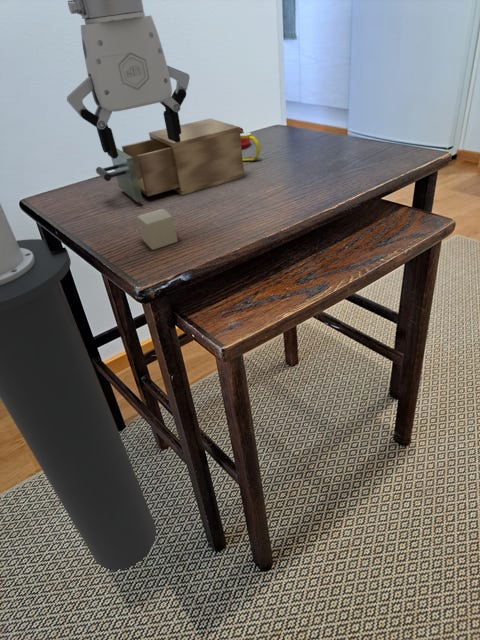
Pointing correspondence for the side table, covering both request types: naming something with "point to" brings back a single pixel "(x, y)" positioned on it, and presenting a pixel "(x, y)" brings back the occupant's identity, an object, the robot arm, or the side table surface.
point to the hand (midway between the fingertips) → (144, 148)
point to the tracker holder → (244, 140)
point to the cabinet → (205, 154)
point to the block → (157, 228)
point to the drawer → (143, 169)
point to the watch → (249, 135)
